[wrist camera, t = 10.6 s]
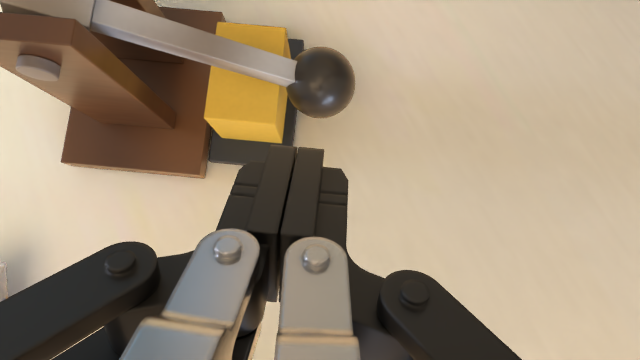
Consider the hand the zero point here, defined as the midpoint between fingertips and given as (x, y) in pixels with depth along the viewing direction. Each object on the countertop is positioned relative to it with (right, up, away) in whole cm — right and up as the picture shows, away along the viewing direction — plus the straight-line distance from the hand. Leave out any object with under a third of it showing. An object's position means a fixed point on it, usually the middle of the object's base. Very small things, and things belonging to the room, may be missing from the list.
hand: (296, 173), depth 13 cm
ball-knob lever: (-5, +6, +9) cm, 12 cm away
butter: (-3, +5, +14) cm, 15 cm away
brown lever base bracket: (-10, +5, +14) cm, 18 cm away
